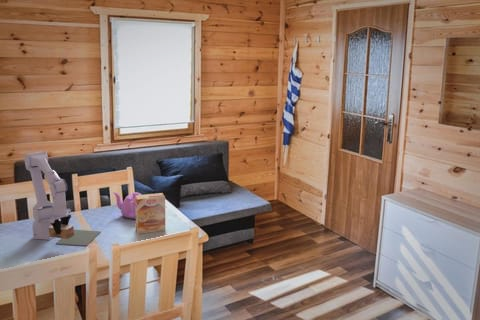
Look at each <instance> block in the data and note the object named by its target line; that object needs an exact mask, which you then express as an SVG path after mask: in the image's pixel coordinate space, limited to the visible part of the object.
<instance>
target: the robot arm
mask: <svg viewBox="0 0 480 320" xmlns="http://www.w3.org/2000/svg"><path fill="white" fill-rule="evenodd" d="M24 154H25V155H24V157H23V161H24V165H25V169H26V171H29V174H30V176H31V179H32V185H33V190H34V194H35V198H36V203H35V204H34V205H33V207H32V216H33V219H34V220H33V222H32V239H33V240H35V239H36V240H48V241H49V240H52V239H53V238H54V237H50V236H49V227H50V226H53V228H54V230H55V233H56V234H60V233H61V224H64V225H69V224H70V223H69V222H70V220H71V218H72V215H71V213H72V209H71V208H67V202H66V192H67V191H68V184H67V182H66V180H65V179H64V178H61V177H60V176H59V175H58V173H57V171H55V170H54V169H52V168H51V166H50V164H49V156H48V153H47V152H46V151H45V150H41V151H37V152H26V153H24ZM42 172H43V173H44V175H42ZM43 178H44V179H45V181H46V182H47V184H48V185H49V190H50V191H49V192H50V196H51V198H52V202H51V201H49V200H48V197H47V193H46V189H45V183H44V179H43Z"/></svg>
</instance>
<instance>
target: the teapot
mask: <svg viewBox="0 0 480 320" xmlns="http://www.w3.org/2000/svg"><path fill="white" fill-rule="evenodd" d="M112 194H114V195H115V198H116V205H117V206H116V207H117V208H118V209H119V210H120V214H121V215H122V216H123V217H124V218H127V219H131V220H132V219H133V220H136V213H135V195H143V194H142V193H141V192H137V191H135V192H132V193H131V194H128V195H126V197H125V198H124V200H123V202H122V201H121V197H120V194H119V193H118V192H114V191H113V192H112Z"/></svg>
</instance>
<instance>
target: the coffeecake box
mask: <svg viewBox="0 0 480 320" xmlns="http://www.w3.org/2000/svg"><path fill="white" fill-rule="evenodd" d="M135 213H136V219H135V230H136V233H137V235H139V234H141V235H142V234H148V233H157V232H164V231H166V196H165V195H164V193H163V192H159V193H158V192H157V193H147V194H142V195H135Z"/></svg>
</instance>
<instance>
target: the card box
mask: <svg viewBox="0 0 480 320" xmlns="http://www.w3.org/2000/svg"><path fill="white" fill-rule="evenodd" d="M74 230H75V229H74V225H72V224H68V225H64V224H61V233H60V234H56V233H55V230H54V228H53V226H50V227H49V236H50V237H53V238H55V239H56V238H57V239H61V238H63V239H69V238H71V237H72V236H74Z"/></svg>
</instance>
